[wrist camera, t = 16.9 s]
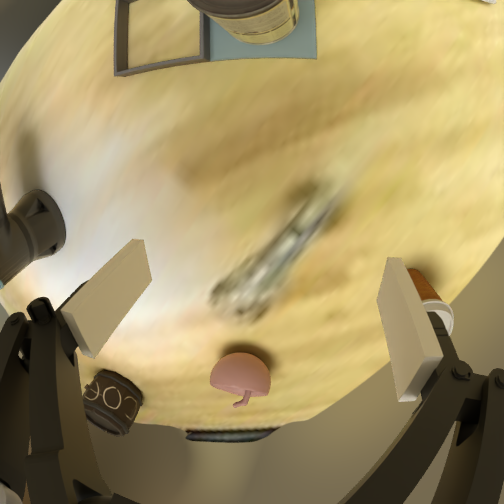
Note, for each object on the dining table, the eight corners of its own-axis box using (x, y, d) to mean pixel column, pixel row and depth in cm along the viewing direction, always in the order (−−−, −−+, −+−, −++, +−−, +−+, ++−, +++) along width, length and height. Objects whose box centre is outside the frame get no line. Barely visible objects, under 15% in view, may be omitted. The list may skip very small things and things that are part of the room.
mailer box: (125, 76, 35) (114, 76, 32) (126, 1, 28) (116, -3, 25) (316, 59, 30) (317, 55, 27) (312, -26, 23) (312, -34, 21)
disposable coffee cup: (375, 270, 43) (391, 321, 33) (428, 252, 40) (456, 297, 29) (386, 312, 47) (398, 363, 36) (433, 296, 43) (455, 343, 33)
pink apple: (220, 371, 62) (207, 411, 52) (216, 336, 56) (199, 380, 46) (272, 379, 60) (265, 421, 50) (275, 344, 54) (267, 391, 45)
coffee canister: (106, 360, 71) (81, 400, 58) (153, 396, 76) (134, 437, 62) (90, 374, 79) (68, 407, 66) (130, 405, 84) (113, 439, 70)
